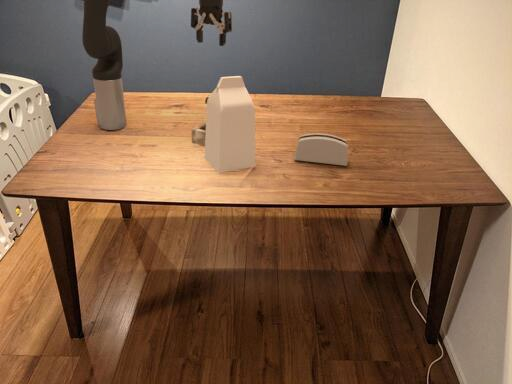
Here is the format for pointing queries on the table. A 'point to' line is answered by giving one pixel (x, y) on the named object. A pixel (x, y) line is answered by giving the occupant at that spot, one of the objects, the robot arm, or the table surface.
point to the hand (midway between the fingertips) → (211, 44)
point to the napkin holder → (322, 149)
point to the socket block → (199, 134)
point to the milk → (230, 126)
